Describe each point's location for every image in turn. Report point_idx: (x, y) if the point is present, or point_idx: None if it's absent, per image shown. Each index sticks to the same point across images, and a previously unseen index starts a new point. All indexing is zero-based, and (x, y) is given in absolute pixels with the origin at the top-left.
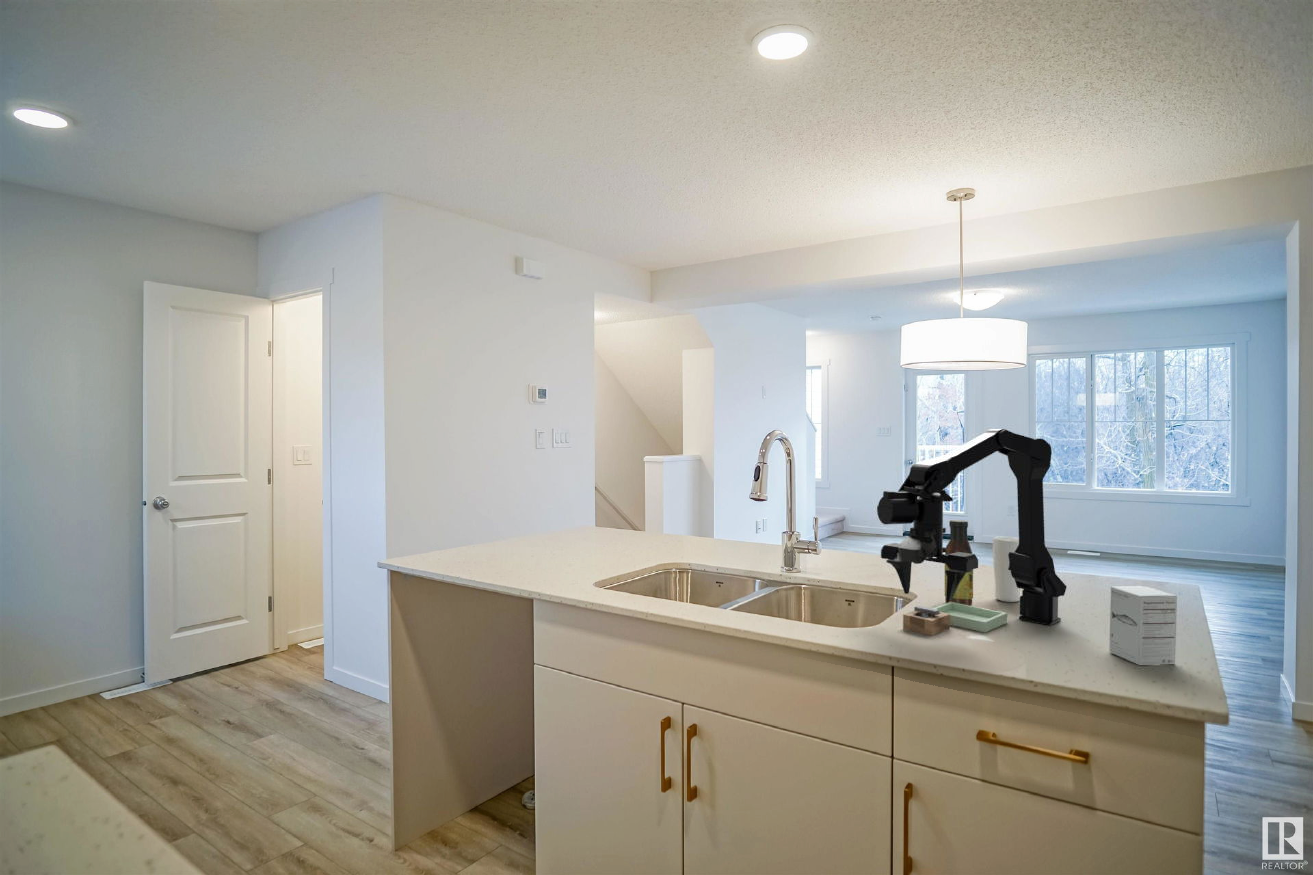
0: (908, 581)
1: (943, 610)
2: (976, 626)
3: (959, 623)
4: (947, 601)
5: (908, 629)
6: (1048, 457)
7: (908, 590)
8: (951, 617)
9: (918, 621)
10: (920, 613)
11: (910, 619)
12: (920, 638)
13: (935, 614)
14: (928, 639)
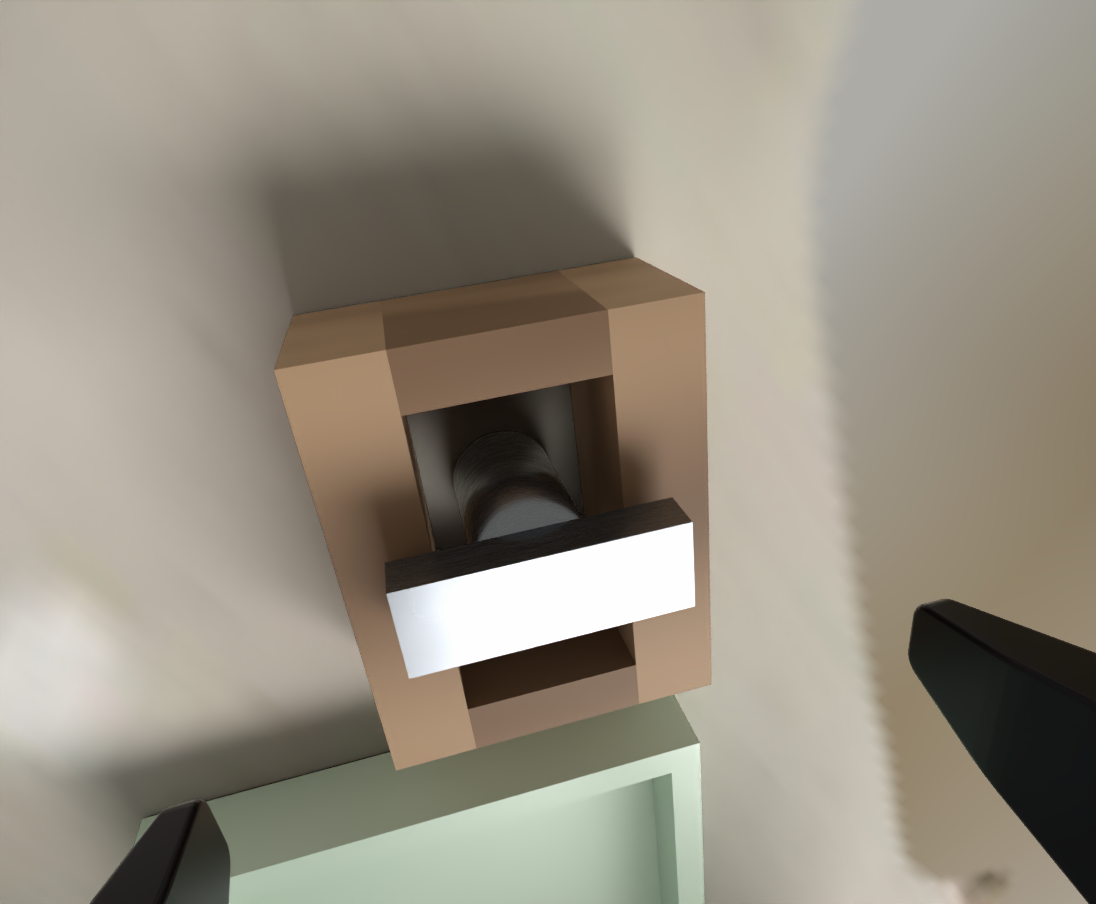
0: (1076, 819)
1: (665, 875)
2: None
3: (382, 779)
4: (183, 805)
5: (574, 269)
6: None
7: (939, 683)
8: (460, 789)
9: (470, 317)
10: None
11: (586, 302)
12: (268, 89)
13: (386, 570)
14: (187, 144)
